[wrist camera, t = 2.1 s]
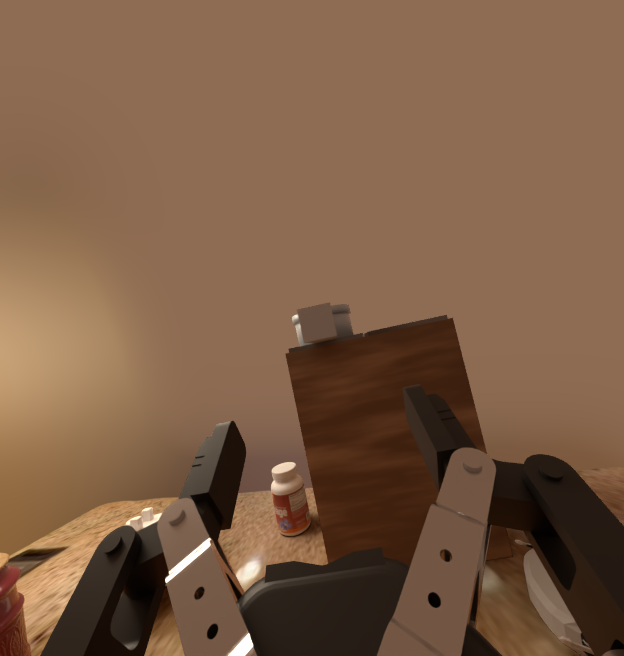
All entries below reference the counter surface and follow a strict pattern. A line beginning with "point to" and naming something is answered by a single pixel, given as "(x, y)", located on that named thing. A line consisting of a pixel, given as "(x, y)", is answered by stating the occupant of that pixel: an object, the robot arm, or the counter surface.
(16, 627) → the canister
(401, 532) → the wooden box
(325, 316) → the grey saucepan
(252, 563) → the counter surface
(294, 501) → the pill bottle
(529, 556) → the robot toy
